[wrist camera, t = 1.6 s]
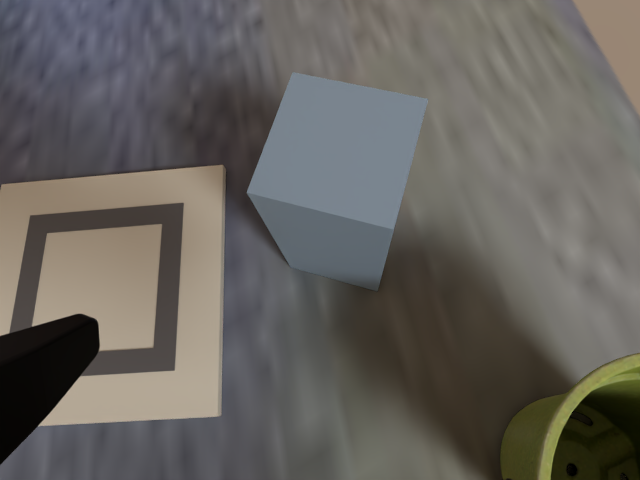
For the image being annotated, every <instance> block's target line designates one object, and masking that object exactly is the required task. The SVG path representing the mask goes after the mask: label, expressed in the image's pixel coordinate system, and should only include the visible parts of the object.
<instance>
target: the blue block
mask: <svg viewBox="0 0 640 480" xmlns="http://www.w3.org/2000/svg"><path fill="white" fill-rule="evenodd" d="M427 102H428V99H426V98H421V97H416V96H411V95H406V94H401V93H395V92H390V91H385V90H380V89H375V88H370V87H365V86H360V85H355V84H350V83H345V82H340V81H335V80H329V79H324V78H319V77H314V76H309V75H304V74H299V73H294V72H293V73H292V75H291V78H290V81H289V83H288V86H287V88H286V91H285V94H284V96H283V99H282V101H281V104H280V107H279V109H278V112H277V115H276V117H275V120H274V122H273V125H272V128H271V130H270V133H269V135H268V138H267V141H266V143H265V146H264V149H263V151H262V154H261V156H260V159H259V162H258V164H257V167H256V169H255V172H254V175H253V177H252V180H251V183H250V185H249V188H248V190H247V194H248V196H249V197H250V199H251V201H252V202H253V204H254V206H255V208H256V209H257V211H258V213H259V214H260V216H261V218H262V220H263V221H264V223H265V225H266V226H267V228H268V230H269V231H270V233H271V235H272V237H273V238H274V240H275V242H276V243H277V245H278V247H279V248H280V250H281V252H282V254H283V255H284V257H285V259H286V260H287V262H288V264H289V265H290V267H291V268H295V269H298V270H302V271H305V272H309V273H313V274H316V275H320V276H323V277H327V278H330V279H334V280H338V281H341V282H345V283H348V284H352V285H356V286H359V287H363V288H366V289H370V290H374V291H377V292H378V288H379V285H380V281H381V277H382V273H383V269H384V266H385V262H386V258H387V254H388V250H389V247H390V243H391V239H392V235H393V232H394V228H395V224H396V220H397V216H398V213H399V209H400V205H401V201H402V197H403V193H404V190H405V186H406V182H407V178H408V174H409V171H410V167H411V163H412V159H413V155H414V151H415V148H416V144H417V140H418V136H419V132H420V128H421V125H422V121H423V117H424V113H425V109H426V105H427Z"/></svg>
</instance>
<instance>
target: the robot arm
mask: <svg viewBox="0 0 640 480" xmlns="http://www.w3.org/2000/svg"><path fill="white" fill-rule="evenodd" d="M99 348H100V339H99V324H98V321H97V320H96V319H95V318H92V317H90V316H87V315H85V314H74V315H71V316H68V317H64V318H61V319H57V320H54V321H50V322H47V323H43V324H40V325H36V326H33V327H29V328H26V329H22V330H19V331H15V332H12V333H8V334H5V335H1V336H0V465H1V464H2V463H3V461H4V460H5V459H6V458H7V457H8V456H9V455H10V454H11V453H12V452H13V451H14V450H15V449H16V448H17V447H18V446H19V445H20V444H21V443H22V442H23V441H24V440H25V439H26V438H27V437H28V436H29V435H30V434H31V433H32V432H33V431H34V430H35V429H36V427H37V426H38V425H39V424H40V423H41V422H42V421H43V420H44V419H45V418H46V417H47V416H48V415H49V414H50V412H51V411H52V410H53V409H54V408H55V407H56V405H57V404H58V403H59V402H60V401H61V399H62V398H63V397H64V396H65V394H66V393H67V392H68V391H69V389H70V388H71V387H72V386H73V384H74V383H75V382H76V381H77V380H78V378H79V377H80V376H81V375H82V373H83V372H84V371H85V370H86V368H87V367H88V366H89V365H90V364H91V362H92V361H93V360H94V359H95V357H96V356H97V354H98V352H99ZM505 480H513V479H511V478H507V479H505Z"/></svg>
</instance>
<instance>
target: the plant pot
mask: <svg viewBox="0 0 640 480" xmlns="http://www.w3.org/2000/svg"><path fill="white" fill-rule="evenodd" d="M573 410H574V411H576V412H578V413H581V414H584V415H585V416H587V417H588V418H589V419H591V421H592V422H593V425H592V426H588V425H587V424H584V423H582V422H581V421H578V420H576V419H573V418H569V416H570V415H571V413H572V412H573ZM500 464H501V473H502V477H503V480H505V479H507V478H511V479H513V480H621V478H620V474H621V473H624V474H625V475H626V476H627V478H628V480H640V353H637V354H632V355H628V356H625V357H622V358H619V359H616V360H613V361H611V362H609V363H607V364H604V365H602V366H600V367H599V368H597V369H595V370H593V371H592V372H590V373H589V374H588V375H586V376H585V377H584V378H582V379H581V380H580V381H579V382H578V383H577V384H575V385H574V386H573V387H572V388H571V389H570V390H569V391H568V393H565V394H560V395H555V396H551V397H547V398H543V399H540V400H537V401H535V402H533V403H531V404H529V405H528V406H526V407H525V408H523V409H522V410H520V411H519V412H518V413H517V414H516V415H515V416H514V417H513V418H512V420H511V421H510V423H509V425H508V426H507V428H506V431H505V433H504V436H503V439H502V444H501V452H500ZM568 464H574V465H575V466H576V467H577V470H578V471H577V474H576V475H575V476H569V475H568V473H567V471H566V468H567V466H568Z"/></svg>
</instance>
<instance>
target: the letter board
mask: <svg viewBox="0 0 640 480" xmlns="http://www.w3.org/2000/svg"><path fill="white" fill-rule="evenodd" d="M225 192H226V169H225V167H224V166H223V165H215V166H204V167H192V168H181V169H170V170H159V171H147V172H136V173H125V174H114V175H102V176H91V177H80V178H69V179H57V180H46V181H35V182H24V183H12V184H2V185H1V190H0V336H1V335H5V334H8V333H12V332H15V331H19V330H22V329H26V328H29V327H33V326H36V325H40V324H43V323H47V322H50V321H54V320H57V319H61V318H64V317H68V316H71V315H74V314H85V315H87V316H90V317H92V318H95V319H96V320H97V321H98V324H99V339H100V348H99V352H98V354H97V356H96V357H95V359H94V360H93V361H92V362H91V364H90V365H89V366H88V367H87V368H86V370H85V371H84V372H83V373H82V375H81V376H80V377H79V378H78V380H77V381H76V382H75V383H74V384H73V386H72V387H71V388H70V389H69V391H68V392H67V393H66V394H65V396H64V397H63V398H62V399H61V401H60V402H59V403H58V404H57V405H56V407H55V408H54V409H53V410H52V411H51V412H50V414H49V415H48V416H47V417H46V418H45V419H44V420H43V421H42V422H41V423H40V424H39V425H38V426H47V425H66V424H85V423H104V422H123V421H142V420H161V419H180V418H199V417H218V416H221V402H222V350H223V297H224V245H225Z"/></svg>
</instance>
